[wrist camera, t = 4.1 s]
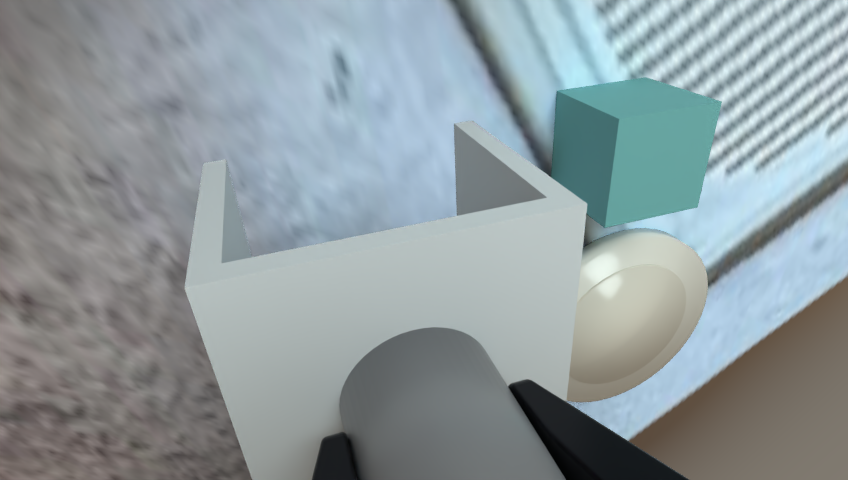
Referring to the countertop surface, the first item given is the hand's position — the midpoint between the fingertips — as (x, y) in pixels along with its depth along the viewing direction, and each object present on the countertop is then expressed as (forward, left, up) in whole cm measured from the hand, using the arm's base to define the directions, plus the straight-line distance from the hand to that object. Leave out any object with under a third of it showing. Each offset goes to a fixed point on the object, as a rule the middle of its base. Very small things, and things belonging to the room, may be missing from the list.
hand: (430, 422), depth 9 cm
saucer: (-10, -13, -12) cm, 20 cm away
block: (0, -11, -12) cm, 16 cm away
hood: (0, 0, -6) cm, 6 cm away
